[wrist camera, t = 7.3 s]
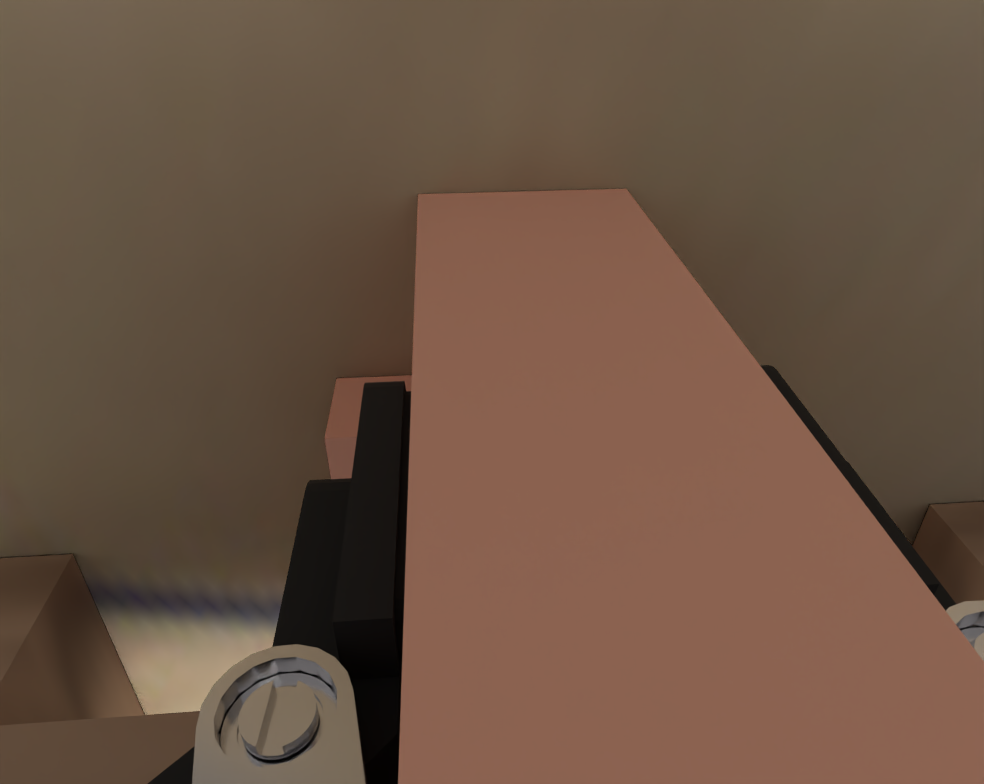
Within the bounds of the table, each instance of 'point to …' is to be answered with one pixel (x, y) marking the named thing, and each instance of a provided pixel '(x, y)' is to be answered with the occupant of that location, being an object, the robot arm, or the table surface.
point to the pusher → (637, 533)
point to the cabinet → (166, 737)
